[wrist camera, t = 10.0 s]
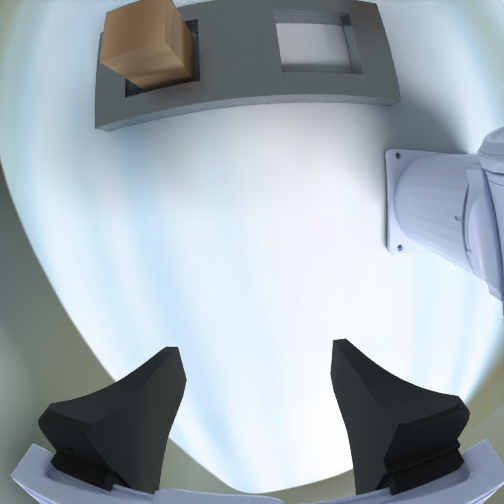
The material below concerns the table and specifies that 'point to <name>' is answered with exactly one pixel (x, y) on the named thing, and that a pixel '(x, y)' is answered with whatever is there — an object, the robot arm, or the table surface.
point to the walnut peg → (149, 44)
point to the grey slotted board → (257, 63)
